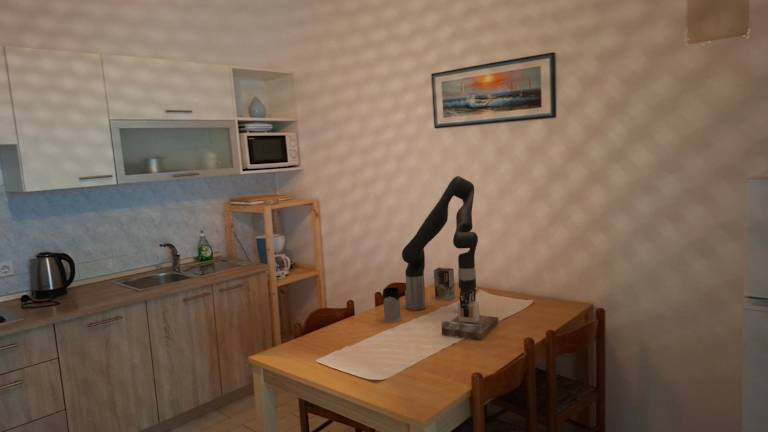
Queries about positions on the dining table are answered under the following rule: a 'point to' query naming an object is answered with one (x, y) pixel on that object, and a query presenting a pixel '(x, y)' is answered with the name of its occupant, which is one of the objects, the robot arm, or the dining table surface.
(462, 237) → the robot arm
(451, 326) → the grey rectangular slab
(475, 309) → the tea box
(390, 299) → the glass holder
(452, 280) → the coffee box
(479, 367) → the dining table surface
